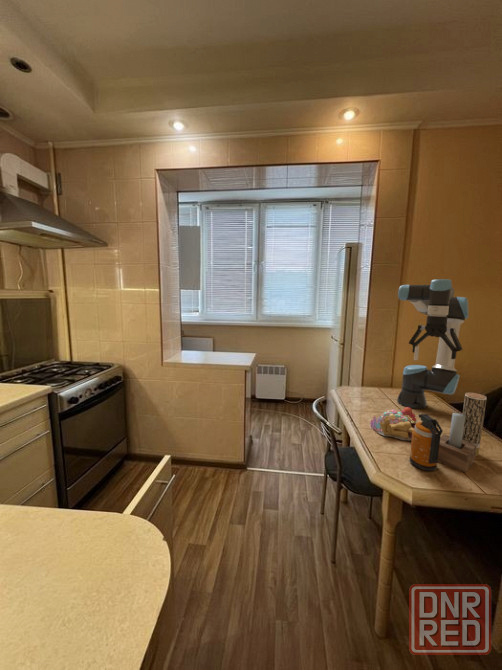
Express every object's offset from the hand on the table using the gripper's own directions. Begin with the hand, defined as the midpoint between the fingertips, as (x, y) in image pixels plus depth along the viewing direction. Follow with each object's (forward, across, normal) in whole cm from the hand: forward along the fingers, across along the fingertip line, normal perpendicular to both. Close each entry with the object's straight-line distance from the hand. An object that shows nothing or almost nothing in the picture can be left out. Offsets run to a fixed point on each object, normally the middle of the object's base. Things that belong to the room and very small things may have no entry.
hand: (432, 363), depth 125 cm
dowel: (+32, +15, -12) cm, 37 cm away
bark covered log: (+35, +17, -1) cm, 39 cm away
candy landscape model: (+35, -11, -4) cm, 37 cm away
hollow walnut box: (+35, +15, -12) cm, 40 cm away
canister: (+35, +10, -26) cm, 44 cm away
